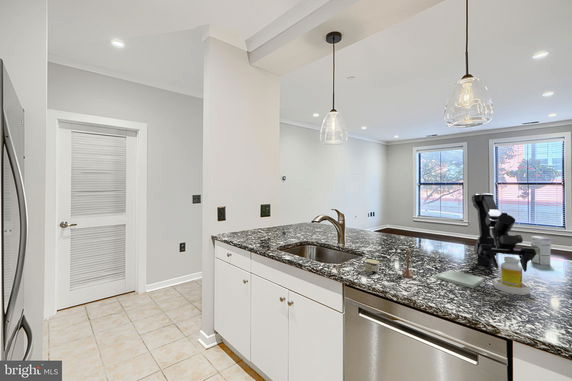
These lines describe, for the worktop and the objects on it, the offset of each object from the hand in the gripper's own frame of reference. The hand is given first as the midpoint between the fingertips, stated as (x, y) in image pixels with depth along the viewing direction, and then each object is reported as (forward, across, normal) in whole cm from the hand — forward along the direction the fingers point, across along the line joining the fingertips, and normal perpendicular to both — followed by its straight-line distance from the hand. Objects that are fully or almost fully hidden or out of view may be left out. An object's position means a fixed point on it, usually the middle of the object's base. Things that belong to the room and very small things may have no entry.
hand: (511, 269), depth 107 cm
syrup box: (-30, +30, +42) cm, 60 cm away
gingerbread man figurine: (+5, -38, +7) cm, 39 cm away
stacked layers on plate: (+6, -54, +6) cm, 55 cm away
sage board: (+3, -17, +9) cm, 19 cm away
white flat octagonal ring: (+6, 0, +6) cm, 8 cm away
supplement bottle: (+6, 0, +6) cm, 8 cm away
